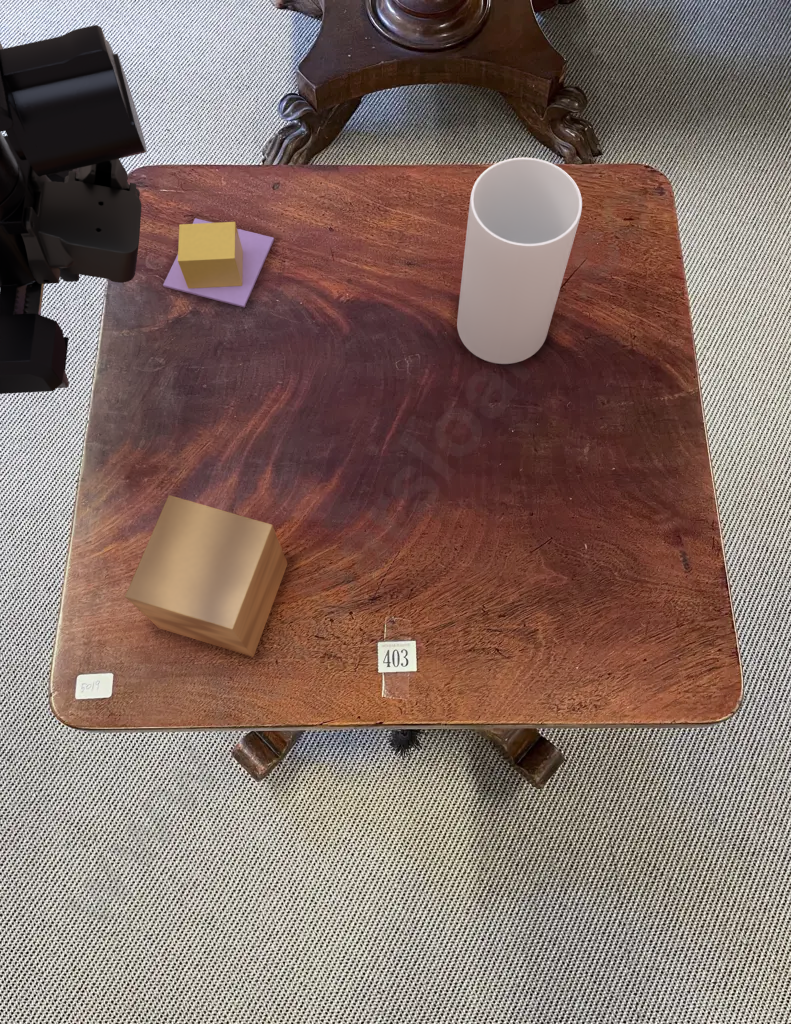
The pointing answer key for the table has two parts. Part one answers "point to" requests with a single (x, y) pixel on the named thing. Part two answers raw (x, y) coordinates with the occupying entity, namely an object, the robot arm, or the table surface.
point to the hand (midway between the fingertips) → (67, 331)
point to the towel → (253, 262)
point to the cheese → (210, 255)
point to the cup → (515, 257)
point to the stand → (209, 575)
